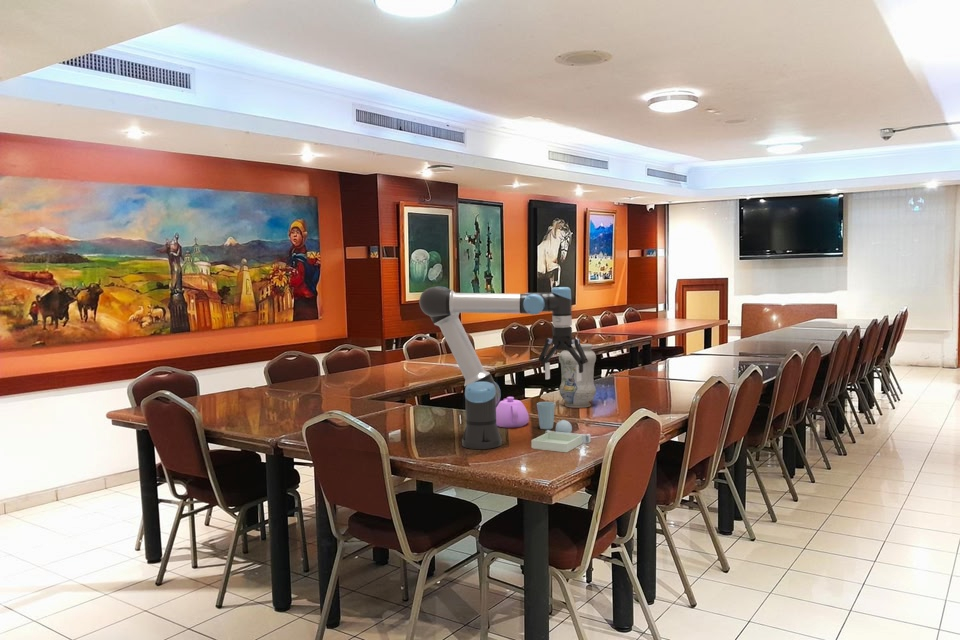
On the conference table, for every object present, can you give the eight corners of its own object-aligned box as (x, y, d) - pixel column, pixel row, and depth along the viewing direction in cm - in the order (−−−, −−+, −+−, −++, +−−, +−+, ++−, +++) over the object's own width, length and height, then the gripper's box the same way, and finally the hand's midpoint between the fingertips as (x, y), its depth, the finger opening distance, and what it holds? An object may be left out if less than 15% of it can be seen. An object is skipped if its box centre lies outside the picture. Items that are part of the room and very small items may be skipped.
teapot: (534, 428, 290) (534, 400, 289) (498, 431, 287) (497, 402, 286) (522, 418, 311) (521, 391, 310) (488, 420, 309) (487, 393, 308)
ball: (552, 437, 273) (552, 421, 273) (559, 433, 279) (559, 418, 278) (568, 439, 270) (567, 422, 269) (574, 435, 275) (574, 419, 275)
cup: (553, 425, 294) (553, 401, 294) (557, 429, 287) (556, 404, 286) (536, 426, 294) (535, 402, 293) (539, 430, 286) (538, 405, 285)
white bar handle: (545, 438, 271) (545, 431, 271) (548, 437, 273) (547, 429, 273) (588, 443, 262) (588, 435, 262) (590, 441, 264) (590, 434, 264)
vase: (577, 400, 349) (575, 341, 347) (604, 405, 335) (603, 343, 333) (552, 405, 338) (550, 344, 336) (579, 410, 324) (578, 347, 322)
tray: (531, 448, 257) (531, 440, 257) (548, 440, 269) (547, 432, 269) (566, 452, 249) (566, 444, 249) (582, 443, 262) (581, 435, 261)
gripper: (529, 326, 274) (530, 379, 276) (587, 327, 261) (588, 383, 262) (538, 325, 281) (539, 376, 282) (595, 326, 267) (596, 380, 269)
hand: (563, 380), depth 272 cm, fingers open, 13 cm apart
